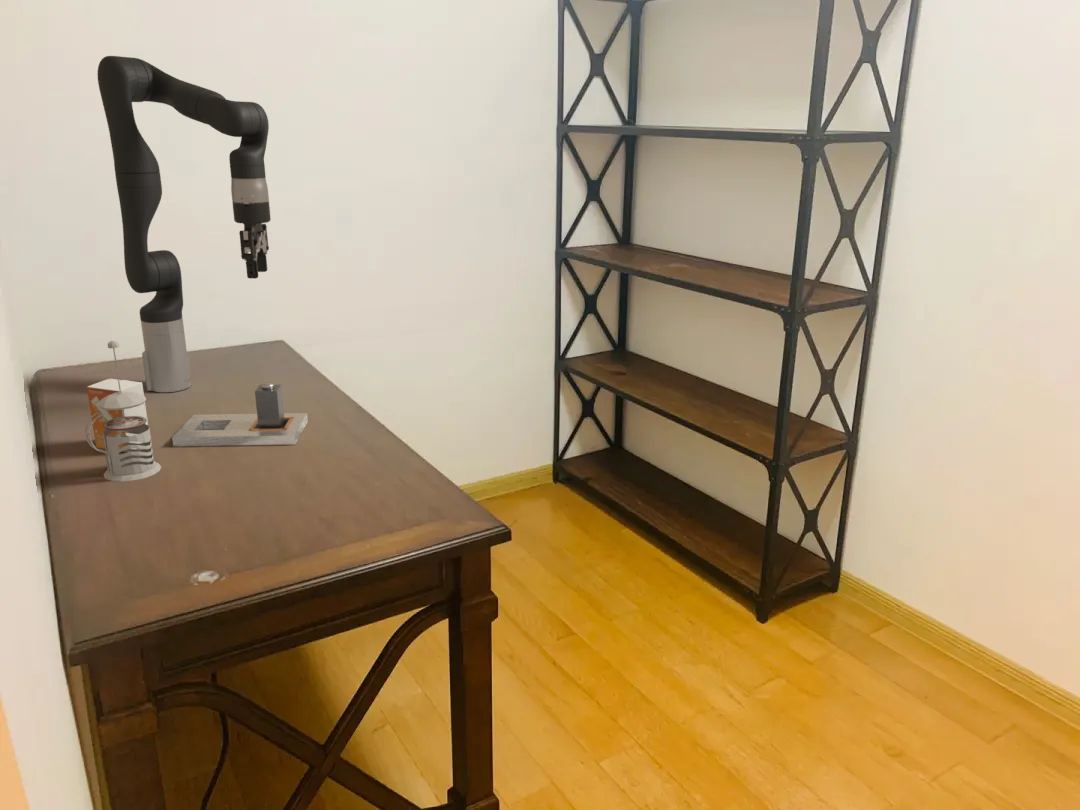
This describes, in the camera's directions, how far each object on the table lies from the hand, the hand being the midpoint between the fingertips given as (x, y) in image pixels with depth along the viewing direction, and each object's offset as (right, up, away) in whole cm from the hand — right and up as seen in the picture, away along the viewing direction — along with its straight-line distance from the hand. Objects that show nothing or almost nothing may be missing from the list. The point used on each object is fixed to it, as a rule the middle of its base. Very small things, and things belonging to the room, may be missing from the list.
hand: (257, 274), depth 185 cm
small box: (-21, -37, -17) cm, 46 cm away
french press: (-14, -42, -30) cm, 53 cm away
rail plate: (0, -35, -9) cm, 36 cm away
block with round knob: (+6, -35, -9) cm, 36 cm away
